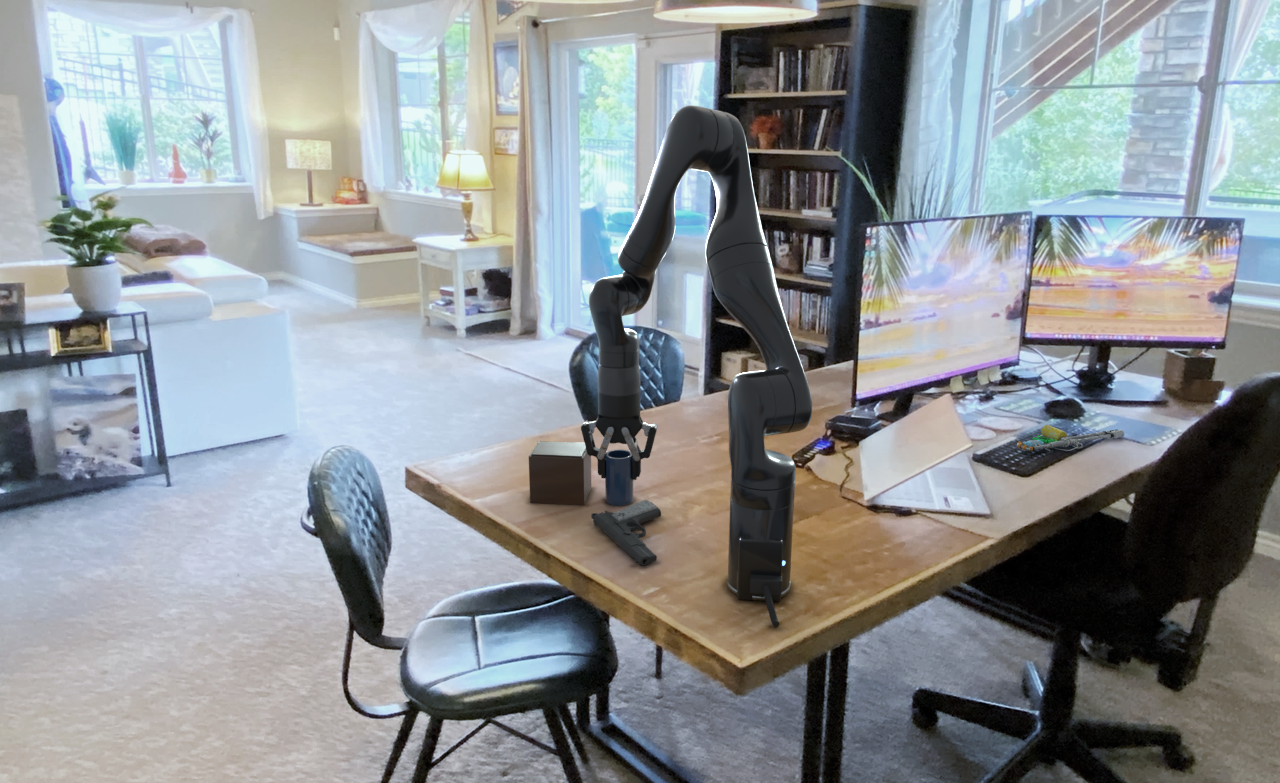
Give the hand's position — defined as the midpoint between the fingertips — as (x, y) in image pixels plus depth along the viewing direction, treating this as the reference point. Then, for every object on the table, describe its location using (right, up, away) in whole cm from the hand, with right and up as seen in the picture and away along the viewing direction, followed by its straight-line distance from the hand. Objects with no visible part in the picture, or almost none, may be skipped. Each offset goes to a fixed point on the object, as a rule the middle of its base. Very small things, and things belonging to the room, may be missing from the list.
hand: (619, 477), depth 168 cm
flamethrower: (+96, +4, +32) cm, 101 cm away
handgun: (+4, -9, -14) cm, 17 cm away
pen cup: (0, -4, +1) cm, 4 cm away
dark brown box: (-11, -4, +3) cm, 12 cm away
